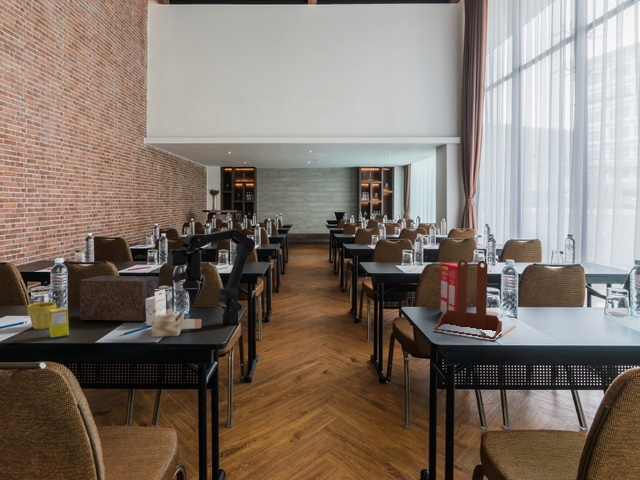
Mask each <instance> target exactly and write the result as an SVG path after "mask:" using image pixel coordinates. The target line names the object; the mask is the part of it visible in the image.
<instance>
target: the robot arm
mask: <svg viewBox="0 0 640 480" xmlns="http://www.w3.org/2000/svg"><path fill="white" fill-rule="evenodd" d="M229 239H230V240H231V241H232V242H233V243H234V244H235V254H236V255H235V259H234V262H233V264H232V267H231V271H230V274H229V277H228V280H227V282H226V286H225V287H224V288H220V289H219V293H218V295H217V302H218V304H219V306H220V307H221V309H222V310H223V312H222V323H223V326H239V324H240V320H239V319H240V317H239V316H240V314H239V313H240V311H242V308H243V305H242V304H241V303H240V302H239V301H238V296H239V294H238V287H239V284H240V281H241V277H242V276H243V275H242V274H243V273H244V269H245V265H246V263H247V260H248V258H249V257H250V256H251V254H252V253H253V251H254V249H255V247H256V242H255V240H254V239H253V238H252V237H249V236H247V235H246V234H244V233H242V232H240V231H239V230H238V229H236V228H228V229H226V230H225V229H224V230H219V231H214V232H209V233H203V234H202V233H200V234H199V233H195V234H193V233H191V234H186V236H185V238H184V240H183V243H182V245H181V246H180V247H179V249H172V248H171V249H168V253H167V257H166V261H167V265H168V267H181V266H182V267H183V266H185V265H186V267H185V269H184V271H181V272H179V271H176V272H174V273H173V275H172V276H171V278H172V281H174V284H177V283H179V282H180V281H181V282H182V281H184V282H183V283H182V289H183V290H184V291H186V293H188V297H189V300H190V304H191V305H195V303H196V301H198V300H199V297H200V294H201V292H202V290H203V287H204V284H205V282H206V277H205V276H204V275H203V274H202V269H203V266H202V254H206V253H207V251H206V250H204V249H203V247H205V246H206V245H209V244H210V243H215V242H219V241H225V240H229Z"/></svg>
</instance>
